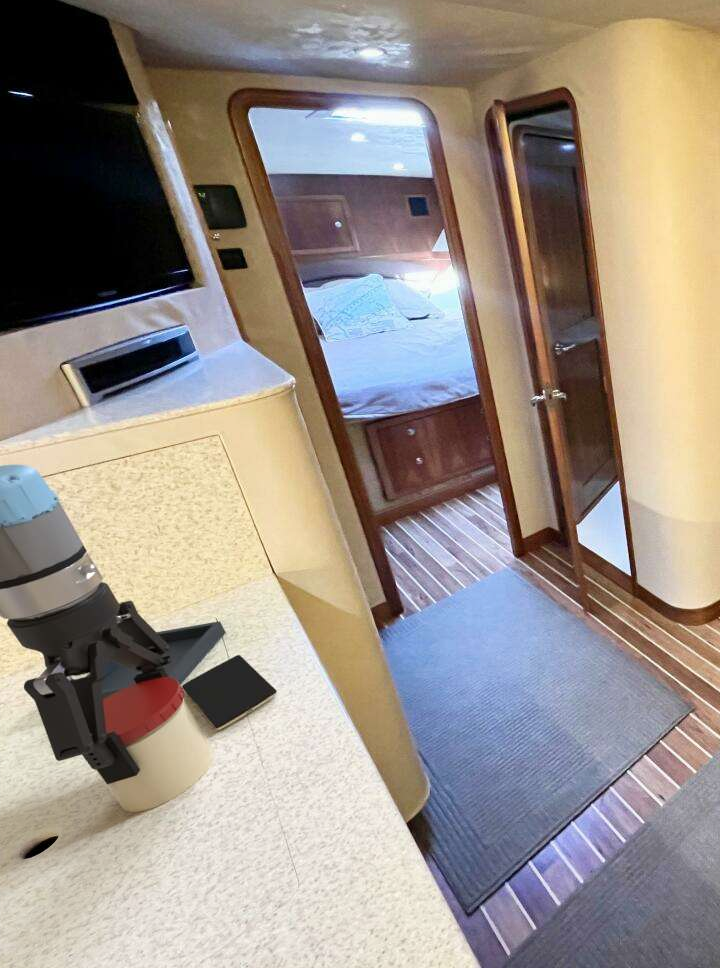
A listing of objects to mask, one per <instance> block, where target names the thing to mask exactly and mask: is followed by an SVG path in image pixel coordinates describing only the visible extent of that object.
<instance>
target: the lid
mask: <svg viewBox="0 0 720 968" xmlns="http://www.w3.org/2000/svg"><path fill="white" fill-rule="evenodd" d="M185 694H186V692H185V691H184V690H183V688H182V685H180V684H179V683H178V681H177V680H175V679H173V678H169V677H161V678H154V679H150V680H146V681H142V682H139V683H136V684H134V685H131V686H129V687H126V688H124V689H122V690H120V691H118V692H116V693H114V694H112V695H110V696H108V697H107V698H105V699H103V706H104V715H105V723H106V731H107V733H111V732H114V731H115V733H116V734H117V736H118V737H119V739H120V740H121V742H122V743H123V745H127V744H129V743H131V742H133V741H135V740H137V739H139V738H141V737H143V736H144V735H146V734H148V733H149V732H151V731H153V730H154V729H155V728H157V727H158V726H160V725H161V724H162V723H164V722H165V721H166V720H167V719H168V718H170V717H171V716H172V715H173V714H174V713H175V712H176V711H177V709H178V708H179V707H180V705H181V704H182V702H183V701H184V700H183V699H185ZM90 734H91V733H90ZM91 735H92V734H91Z"/></svg>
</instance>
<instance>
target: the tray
mask: <svg viewBox="0 0 720 968" xmlns="http://www.w3.org/2000/svg"><path fill="white" fill-rule="evenodd" d="M156 632H157V633H158V634H159V636H160V637H161V638H162V639H163V640H164V641H165V642H166V643H167V644H168V645H169V647H170V650H169V652H168V653H165V654H164V655H163V657H165V656H169V655H170V656H171V658H172V661H171V663H170V664H169V665H165V666H163V667H164V669H165V670H166V672H167V674H168V675H169V677H170V678H173V679H175V680H177V681H178V683H179V684H180V686H182V683H183V682H184V681H185V680H186V679H187V678H188V677H189V676H190V674H191V673H192V672H193V671H194V670H195V669H196V668H197V667H198V665H199V664H200V663H201V662H202V661H203V660H204V659H205V657H206V656H207V655H208V653H209V652H210V651H211V650H212V649H213V648H214V647H215V646H216V644H217V643H218V642H219V641H220V640H221V639H222V637H223V636H224V635H225V634H226V633H227V632H226V630H225V628H224V626H223V624H222V622H221V621H219V620H218V621H213V622H207V623H201V624H196V625H191V626H190V625H189V626H184V627H183V626H182V627H178V628H173V629H172V628H171V629H166V630H160V631H156ZM152 647H153V646H149V648H152ZM104 666H105V677H104V678H103V679H102V680H101V690H102V698H103V699H105V698H107V697H108V696H110V695H112V694H114V693H116V692H118V691H120V690H122V689H124V688H126V687H129V686H131V685H134V684H136V682H135V681H134V678H135V676H136V675H138V674H142V671H141V672H136V671H134V670H132V669H129V668H127V667H125V666H123V665H121V664H119V663H116V662H114V661H112V660H110V659H108V660H107V661H106V663H105V665H104ZM90 674H91V673H87V674H86V676H85V677H87V676H90Z"/></svg>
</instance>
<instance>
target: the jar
mask: <svg viewBox="0 0 720 968" xmlns="http://www.w3.org/2000/svg"><path fill="white" fill-rule="evenodd" d="M183 700H184V701H183V702H182V704H181V705H180V707H179V708H178V709H177V711H176V712H175V713H174V714H173V715H172V716H171V717H170V718H168V719H167V720H166V721H165V722H164V723H162V724H161V725H160V726H158V727H157V728H155V729H154V730H153V731H151V732H149V733H148V734H146V735H144V736H143V737H141V738H139V739H137V740H135V741H133V742H131V743H129V744H127V745H124V746H125V748H126V749H127V751H128V752H129V754H130V755H131V757H132V758H133V760H134V761H135V763H136V764H137V766H138V767H139V769H140V771H139V773H138V774H137V776H134V777H130V778H127V779H124V780H120V781H117V782H114V783H111V784H107V783H106V782H105V781H104V779H103V778H102V776H101V775H100V774H99V772H98V771H97V769H96V770H95V772H96V773H97V775H98V776H99V777H100V779H101V781H102V782H103V783H104V785H105V787H106V788H107V789H108V790H109V792H110V793H111V795H112V796H113V798H114V799H115V801H116V802H117V803H118V805H119V806H120V808H122V810H124V811H126V812H129V813H138V812H139V813H140V812H144V811H149V810H151V809H153V808H154V809H155V808H157V807H160V806H162V805H164V804H166V803H168V802H170V801H171V800H173V799H175V798H177V797H178V796H179V795H181V794H183V793H184V792H185V791H187V790H189V789H190V788H191V787H193V785H194V784H196V783H197V782H198V781H199V780H200V779H201V778H202V777H203V776H204V775H205V774H206V772H207V771H208V770H209V769H210V767H211V765H212V763H213V761H214V758H215V750H214V748H213V746H212V745H211V743H210V741H209V740H208V737H207V736H206V735H205V733H204V730H203V729H202V727H201V726H200V724H199V723H198V720H197V719H196V717H195V715H194V713H193V711H192V710H191V708H190V706H189V705H188V703H187V701H186V699H185V698H184V699H183Z"/></svg>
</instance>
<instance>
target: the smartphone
mask: <svg viewBox="0 0 720 968" xmlns="http://www.w3.org/2000/svg"><path fill="white" fill-rule="evenodd" d="M181 687H182V689H183V690H184V692H185V694H186V695H187V697H188V698H189V699H190V700H191V701H192V702H193V703H194V705H195V707H197V708H198V709H199V711H200V712H201V714H202V715H203V716H204V717H205V718H206V719H207V720H208V722H209V723H210V725H212V727H213V728H214V729H215V730H216V731H220V730H222V729H224V728H226V727H227V726H229V725H231V724H233V723H235V722H236V721H238V720H240V719H242V718H243V717H245V716H247V715H248V714H250V713H252V712H253V711H254V710H256V709H258V708H259V707H261V706H263V705H264V704H265V703H267V702H268V701H270V700H271V699H273V698H274V697H275V696H277V695H278V691H277V689H276V688H275V687H274V686H273V685H272V684H270V683H269V682H268V680H266V679H265V678H264V677H263V676H262V675H261V674H260V673H259V672H258V671H257V670H256V669H255V668H254V667H253V666H252V665H251V664H250V663H249V662H247V660H245V658H243V657H242V655H240V654H237V655H234V656H233V657H231V658H229V659H227V660H225V661H223V662H221V663H220V664H218V665H216V666H214V667H212V668H209V669H208V670H207V671H205V672H203V673H201V674H199V675H197V676H196V677H194V678H192V679H190V680H188V681H187V682H185V683H183V684H182V685H181Z"/></svg>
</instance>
